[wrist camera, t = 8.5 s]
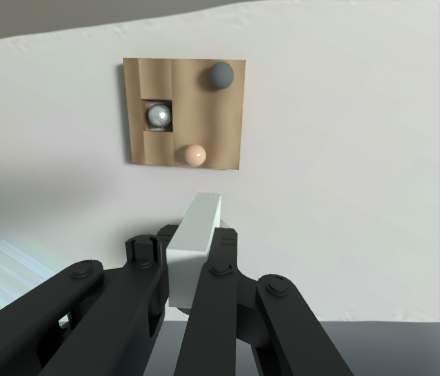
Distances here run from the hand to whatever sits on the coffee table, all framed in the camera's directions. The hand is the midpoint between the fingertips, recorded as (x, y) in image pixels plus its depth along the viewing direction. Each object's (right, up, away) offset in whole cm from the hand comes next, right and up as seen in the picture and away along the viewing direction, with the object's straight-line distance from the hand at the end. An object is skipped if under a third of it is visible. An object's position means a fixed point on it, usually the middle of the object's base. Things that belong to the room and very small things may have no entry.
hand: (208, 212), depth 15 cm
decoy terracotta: (-3, +6, +17) cm, 19 cm away
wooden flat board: (-4, +13, +20) cm, 24 cm away
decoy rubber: (+1, +16, +14) cm, 22 cm away
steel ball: (-8, +13, +19) cm, 24 cm away
